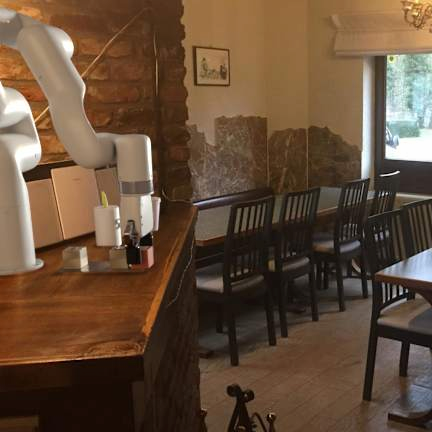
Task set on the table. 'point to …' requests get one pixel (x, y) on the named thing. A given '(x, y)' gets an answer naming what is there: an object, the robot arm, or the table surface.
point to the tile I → (74, 257)
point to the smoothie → (155, 212)
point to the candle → (107, 224)
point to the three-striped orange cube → (145, 257)
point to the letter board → (101, 268)
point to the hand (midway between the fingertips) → (140, 258)
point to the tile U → (118, 257)
